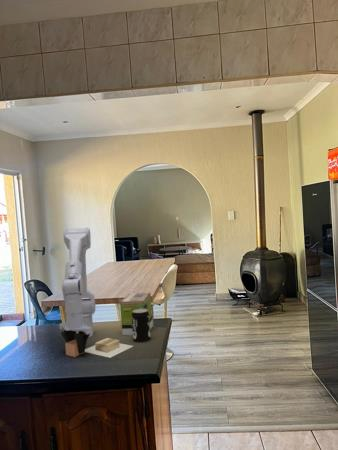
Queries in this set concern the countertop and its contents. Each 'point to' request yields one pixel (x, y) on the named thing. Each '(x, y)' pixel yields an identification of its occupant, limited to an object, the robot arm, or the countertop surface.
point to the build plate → (109, 354)
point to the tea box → (131, 304)
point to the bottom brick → (107, 345)
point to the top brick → (72, 348)
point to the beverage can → (140, 325)
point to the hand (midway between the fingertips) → (76, 351)
